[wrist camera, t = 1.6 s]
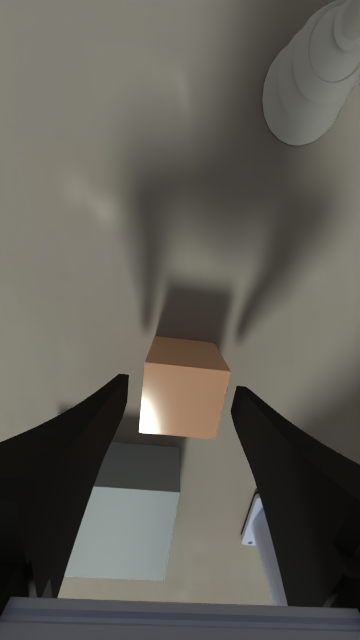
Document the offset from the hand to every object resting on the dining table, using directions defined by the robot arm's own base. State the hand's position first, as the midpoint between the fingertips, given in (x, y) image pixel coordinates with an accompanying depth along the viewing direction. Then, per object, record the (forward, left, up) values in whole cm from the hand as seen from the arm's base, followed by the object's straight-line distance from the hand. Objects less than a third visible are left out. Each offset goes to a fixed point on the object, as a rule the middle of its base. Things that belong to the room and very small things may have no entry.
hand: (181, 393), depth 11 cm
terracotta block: (0, 0, -4) cm, 4 cm away
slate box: (+5, +15, -4) cm, 16 cm away
